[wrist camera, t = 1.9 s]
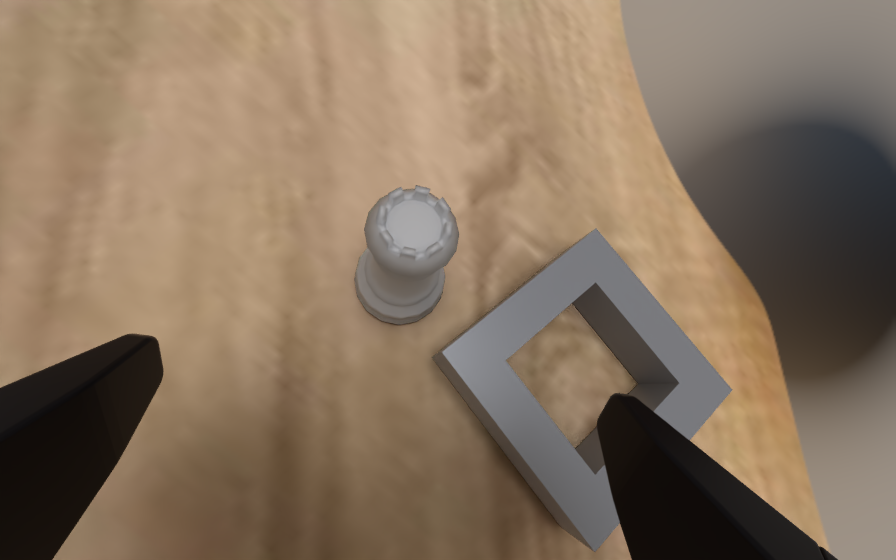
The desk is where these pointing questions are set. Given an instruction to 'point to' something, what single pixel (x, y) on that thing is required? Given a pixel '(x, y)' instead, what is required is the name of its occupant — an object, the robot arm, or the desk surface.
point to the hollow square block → (626, 334)
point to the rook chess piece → (405, 255)
